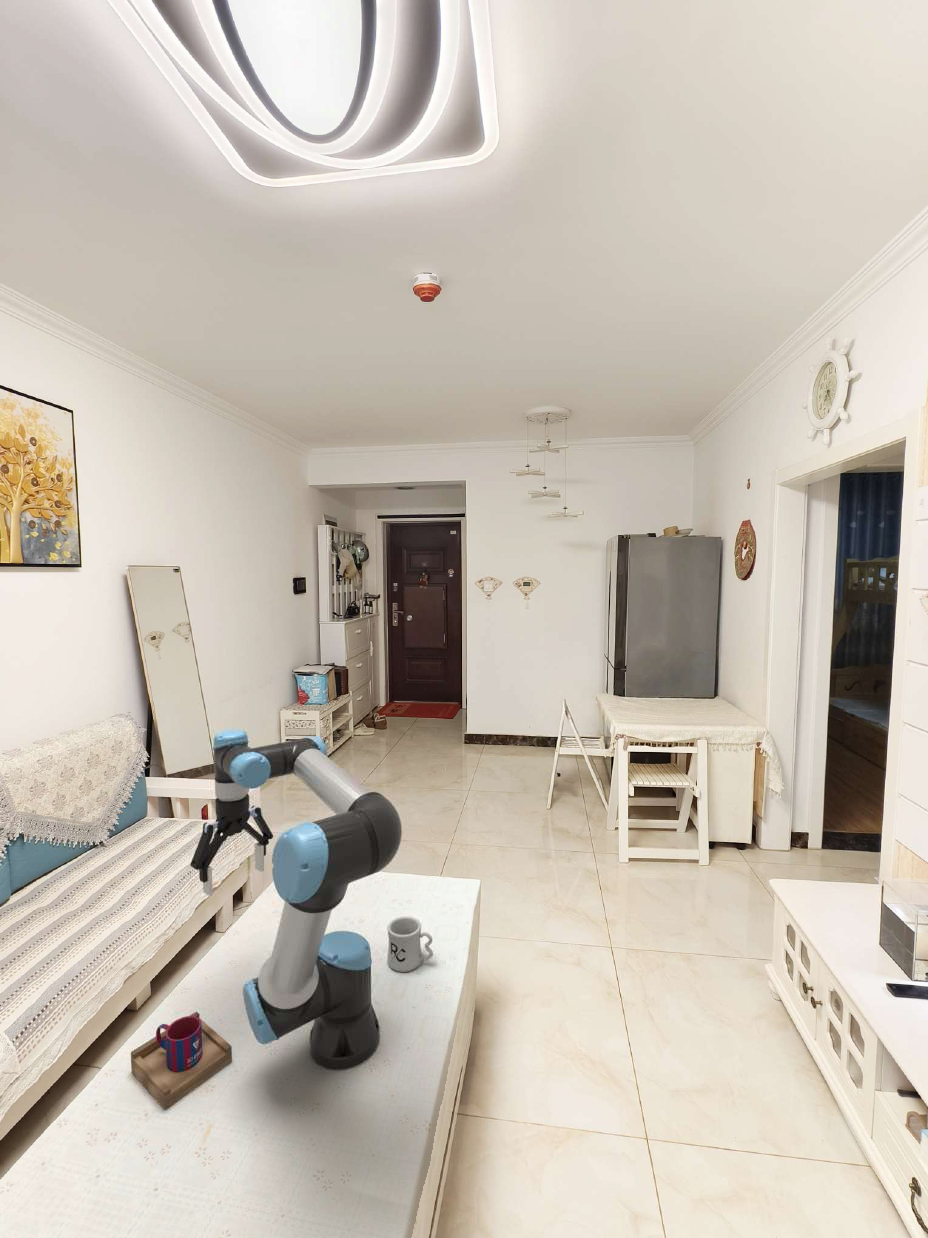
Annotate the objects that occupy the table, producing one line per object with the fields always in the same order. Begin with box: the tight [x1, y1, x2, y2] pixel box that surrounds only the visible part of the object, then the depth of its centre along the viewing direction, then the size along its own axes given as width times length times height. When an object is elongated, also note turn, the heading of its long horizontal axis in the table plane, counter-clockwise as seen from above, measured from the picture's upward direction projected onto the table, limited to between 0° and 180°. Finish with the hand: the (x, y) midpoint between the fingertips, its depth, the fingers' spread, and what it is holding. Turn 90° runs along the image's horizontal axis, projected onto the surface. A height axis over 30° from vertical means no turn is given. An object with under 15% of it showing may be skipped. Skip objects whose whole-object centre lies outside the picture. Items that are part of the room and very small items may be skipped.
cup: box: [155, 1015, 203, 1072], centre depth 121 cm, size 7×10×7 cm
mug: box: [386, 916, 434, 973], centre depth 154 cm, size 12×9×10 cm
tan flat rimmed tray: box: [130, 1011, 233, 1111], centre depth 121 cm, size 14×14×4 cm
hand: (234, 881), depth 140 cm, fingers open, 13 cm apart
